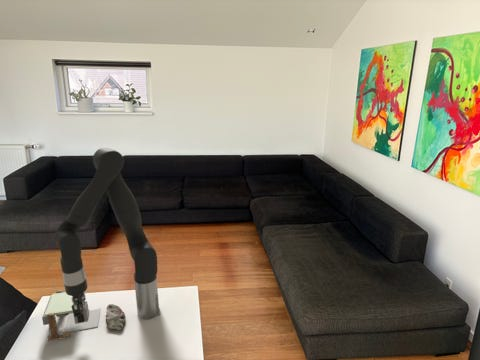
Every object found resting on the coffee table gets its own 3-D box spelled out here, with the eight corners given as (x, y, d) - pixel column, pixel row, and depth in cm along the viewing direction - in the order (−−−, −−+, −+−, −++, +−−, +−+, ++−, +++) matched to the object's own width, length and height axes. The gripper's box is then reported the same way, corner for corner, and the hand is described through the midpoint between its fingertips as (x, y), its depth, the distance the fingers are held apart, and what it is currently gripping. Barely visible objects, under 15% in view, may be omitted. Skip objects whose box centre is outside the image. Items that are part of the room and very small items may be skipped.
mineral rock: (125, 331, 141) (124, 322, 140) (104, 334, 139) (103, 325, 138) (126, 309, 155) (125, 300, 154) (107, 312, 153) (106, 303, 152)
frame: (77, 309, 154) (73, 287, 151) (69, 337, 137) (65, 313, 134) (57, 312, 152) (53, 290, 149) (47, 341, 135) (43, 316, 132)
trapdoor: (82, 298, 151) (80, 289, 150) (76, 319, 138) (75, 309, 137) (51, 303, 148) (50, 294, 147) (43, 325, 135) (41, 315, 134)
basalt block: (89, 313, 137) (87, 301, 135) (88, 321, 132) (85, 308, 131) (77, 316, 135) (74, 303, 134) (75, 323, 131) (72, 310, 129)
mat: (100, 309, 154) (100, 308, 154) (97, 327, 143) (97, 326, 143) (68, 314, 151) (68, 313, 151) (63, 333, 140) (63, 332, 140)
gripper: (83, 288, 123) (90, 327, 128) (88, 267, 136) (94, 304, 141) (60, 292, 121) (68, 332, 126) (67, 271, 134) (74, 308, 139)
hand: (82, 317), depth 134 cm, fingers closed on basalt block, 4 cm apart
